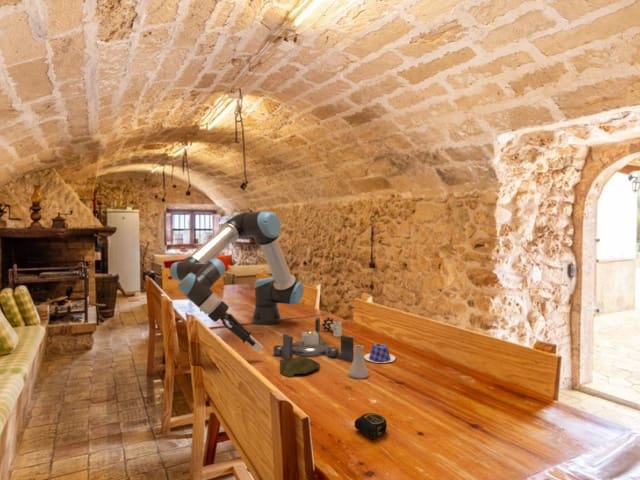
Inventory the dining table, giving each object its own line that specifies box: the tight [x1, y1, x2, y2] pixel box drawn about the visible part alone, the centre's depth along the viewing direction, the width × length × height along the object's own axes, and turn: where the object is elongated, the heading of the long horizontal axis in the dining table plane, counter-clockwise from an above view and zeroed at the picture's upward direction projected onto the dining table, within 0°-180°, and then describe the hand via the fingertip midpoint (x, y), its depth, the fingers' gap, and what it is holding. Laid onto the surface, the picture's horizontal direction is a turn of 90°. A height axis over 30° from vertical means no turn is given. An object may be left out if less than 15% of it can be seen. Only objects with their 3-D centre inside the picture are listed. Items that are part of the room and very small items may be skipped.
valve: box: [321, 317, 343, 338], centre depth 190 cm, size 7×7×12 cm
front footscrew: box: [272, 333, 294, 360], centre depth 157 cm, size 11×4×9 cm, turn 37°
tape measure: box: [354, 412, 387, 440], centre depth 100 cm, size 7×7×4 cm
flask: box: [348, 344, 370, 379], centre depth 138 cm, size 7×7×10 cm
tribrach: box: [293, 316, 354, 363], centre depth 167 cm, size 36×25×9 cm
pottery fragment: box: [279, 356, 321, 379], centre depth 143 cm, size 14×14×4 cm
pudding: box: [363, 343, 396, 364], centre depth 155 cm, size 12×12×5 cm
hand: (260, 349), depth 153 cm, fingers closed
